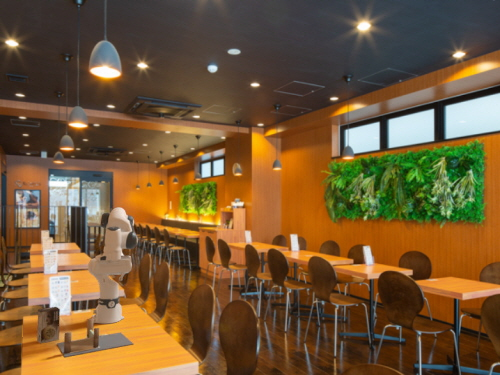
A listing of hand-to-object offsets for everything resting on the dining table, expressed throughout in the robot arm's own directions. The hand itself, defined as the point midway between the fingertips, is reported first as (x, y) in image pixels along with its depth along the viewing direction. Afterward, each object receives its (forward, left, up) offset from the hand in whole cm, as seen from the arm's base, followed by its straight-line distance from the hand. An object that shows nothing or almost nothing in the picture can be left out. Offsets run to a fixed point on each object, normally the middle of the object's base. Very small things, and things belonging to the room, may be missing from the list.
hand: (112, 281), depth 214 cm
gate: (+9, -12, -28) cm, 32 cm away
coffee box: (-8, -30, -29) cm, 42 cm away
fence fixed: (+18, -18, -28) cm, 38 cm away
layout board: (+12, -11, -29) cm, 33 cm away
